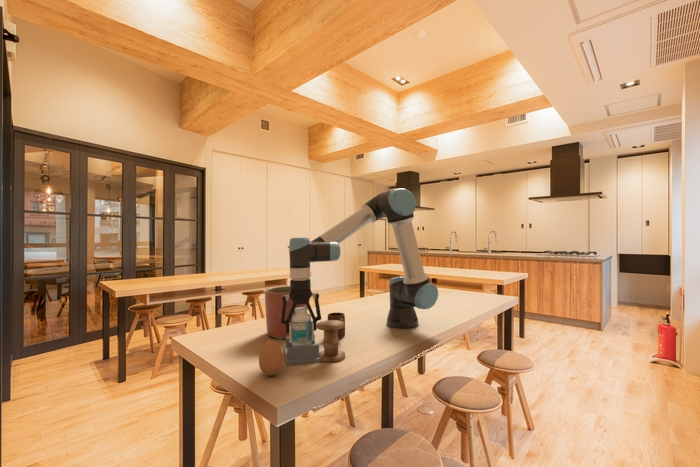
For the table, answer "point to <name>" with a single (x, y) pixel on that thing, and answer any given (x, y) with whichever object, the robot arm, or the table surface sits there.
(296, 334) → the pill bottle
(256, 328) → the table surface
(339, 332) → the mug
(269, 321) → the planter
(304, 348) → the card holder
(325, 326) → the bobbin
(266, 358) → the egg
